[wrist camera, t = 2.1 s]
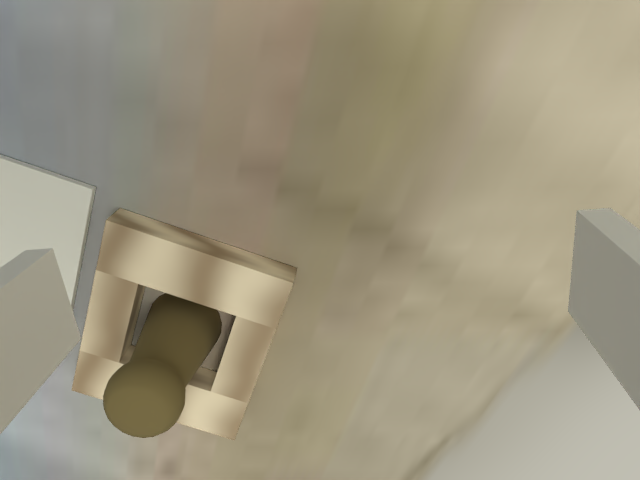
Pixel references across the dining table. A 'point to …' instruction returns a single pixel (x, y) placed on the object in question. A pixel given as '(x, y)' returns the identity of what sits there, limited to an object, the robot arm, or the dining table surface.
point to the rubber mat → (44, 216)
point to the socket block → (191, 284)
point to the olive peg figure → (161, 366)
